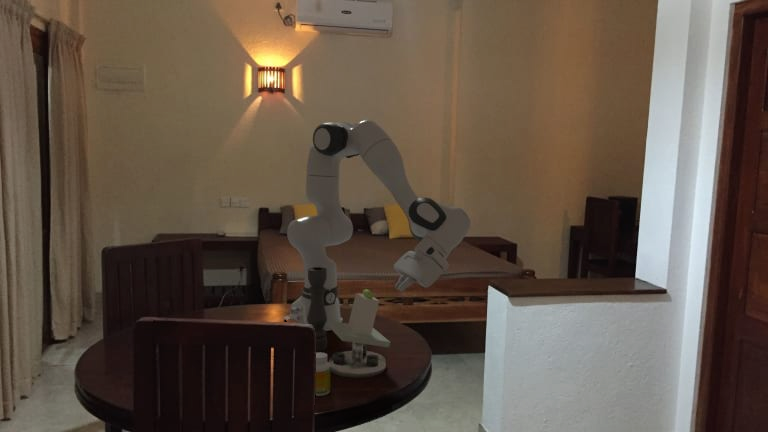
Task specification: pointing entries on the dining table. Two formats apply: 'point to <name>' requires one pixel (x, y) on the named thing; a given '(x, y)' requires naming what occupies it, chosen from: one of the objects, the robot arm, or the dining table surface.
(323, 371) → the supplement bottle
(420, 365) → the dining table surface
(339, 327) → the white stepped fixture
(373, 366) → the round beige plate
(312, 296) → the candle holder
